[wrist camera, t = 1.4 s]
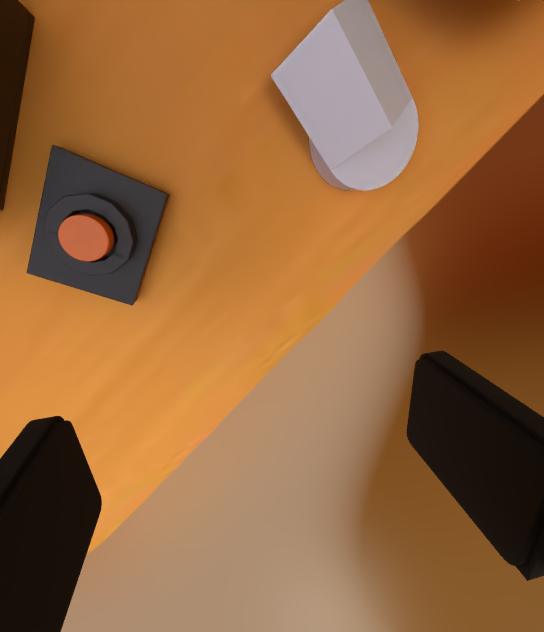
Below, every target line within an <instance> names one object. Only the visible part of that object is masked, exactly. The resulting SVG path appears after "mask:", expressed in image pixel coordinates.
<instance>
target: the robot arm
mask: <svg viewBox="0 0 544 632" xmlns="http://www.w3.org/2000/svg"><path fill="white" fill-rule="evenodd" d="M407 437H408V440H409V442H410V444H411V445H412V446H413V448H414V449H415V450H416V451H417V452H418V454H419V455H420V456H421V457H422V459H423V460H424V461H425V462H426V464H427V465H428V466H429V467H430V468H431V470H432V471H433V472H434V473H435V475H436V476H437V477H438V478H439V480H440V481H441V482H442V483H443V485H444V486H445V487H446V488H447V490H448V491H449V492H450V493H451V495H452V496H453V497H454V498H455V499H456V501H457V502H458V503H459V504H460V506H461V507H462V508H463V509H464V510H465V512H466V513H467V514H468V515H469V517H470V518H471V519H472V520H473V522H474V523H475V524H476V525H477V527H478V528H479V529H480V530H481V532H482V533H483V534H484V535H485V537H486V538H487V539H488V540H489V541H490V543H491V544H492V545H493V546H494V548H495V549H496V550H497V551H498V552H499V554H500V555H501V556H502V557H503V559H504V560H505V561H507V562H508V563H509V564H511V565H513V566H516V567H517V569H518V570H519V571H520V572H521V574H522V575H523V576H524V577H525V578H526V580H527V581H528V580H531V579H534V578H538V577H541V576H544V417H542V416H541V415H539V414H538V413H536V412H535V411H533V410H532V409H530V408H529V407H527V406H526V405H524V404H523V403H521V402H520V401H518V400H517V399H515V398H514V397H512V396H511V395H509V394H508V393H506V392H505V391H503V390H502V389H500V388H499V387H497V386H496V385H494V384H493V383H491V382H490V381H488V380H487V379H485V378H484V377H482V376H481V375H479V374H478V373H476V372H475V371H474V370H472V369H471V368H469V367H468V366H466V365H465V364H463V363H462V362H460V361H459V360H457V359H456V358H454V357H453V356H451V355H450V354H448V353H447V352H444V351H437V352H431V353H425V354H423V355H421V357H420V359H419V360H417V361H416V364H415V370H414V378H413V385H412V393H411V401H410V410H409V418H408V425H407ZM101 505H102V501H101V495H100V493H99V490H98V488H97V485H96V483H95V480H94V478H93V475H92V473H91V470H90V468H89V465H88V463H87V460H86V458H85V455H84V453H83V450H82V448H81V445H80V443H79V440H78V438H77V435H76V433H75V430H74V428H73V425H72V423H71V422H70V421H64V419H63V418H62V417H60V416H55V417H49V418H43V419H37V420H32V421H30V422H29V423H28V424H27V425H26V426H25V428H24V429H23V430H22V432H21V433H20V434H19V435H18V437H17V438H16V439H15V441H14V442H13V443H12V444H11V446H10V447H9V448H8V450H7V451H6V452H5V453H4V455H3V456H2V457H1V459H0V632H61V629H62V626H63V623H64V620H65V617H66V614H67V611H68V608H69V605H70V602H71V599H72V596H73V593H74V589H75V587H76V584H77V581H78V577H79V575H80V572H81V569H82V565H83V563H84V560H85V556H86V554H87V551H88V548H89V545H90V542H91V539H92V536H93V533H94V530H95V527H96V524H97V521H98V518H99V515H100V511H101Z"/></svg>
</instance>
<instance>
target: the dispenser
mask: <svg viewBox="0 0 544 632" xmlns="http://www.w3.org/2000/svg"><path fill="white" fill-rule="evenodd" d="M33 23H34V16H33V15H32V14H31V13H30V12H29V11H28V10H27V9H26V8H25V7H24V6H23V5H22V4H21V3H20V2H19V1H18V0H0V210H3V205H4V199H5V193H6V187H7V181H8V175H9V169H10V163H11V157H12V151H13V144H14V138H15V132H16V126H17V120H18V114H19V108H20V102H21V96H22V90H23V84H24V78H25V72H26V66H27V60H28V54H29V47H30V41H31V35H32V29H33Z"/></svg>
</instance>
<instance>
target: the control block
mask: <svg viewBox="0 0 544 632" xmlns="http://www.w3.org/2000/svg"><path fill="white" fill-rule="evenodd" d="M168 197H169V194H168V193H165V192H163V191H161V190H159V189H156V188H154V187H152V186H149V185H147V184H145V183H142V182H140V181H138V180H135V179H133V178H131V177H128V176H126V175H124V174H121V173H119V172H117V171H115V170H112V169H110V168H108V167H105V166H103V165H101V164H98V163H96V162H94V161H91V160H89V159H87V158H84V157H82V156H80V155H78V154H75V153H73V152H71V151H68V150H66V149H64V148H61V147H58V146H54V145H52V148H51V153H50V158H49V163H48V168H47V174H46V179H45V184H44V189H43V194H42V199H41V204H40V209H39V214H38V219H37V224H36V229H35V234H34V239H33V244H32V249H31V254H30V259H29V264H28V269H27V273H29V274H32V275H35V276H38V277H42V278H45V279H48V280H51V281H55V282H58V283H61V284H64V285H68V286H71V287H74V288H77V289H81V290H84V291H87V292H90V293H94V294H97V295H100V296H103V297H107V298H110V299H113V300H116V301H120V302H123V303H126V304H129V305H133V304H134V303H135V301H136V300H137V296H138V293H139V290H140V287H141V283H142V280H143V277H144V274H145V271H146V267H147V264H148V261H149V258H150V255H151V251H152V248H153V245H154V242H155V239H156V235H157V232H158V229H159V226H160V223H161V219H162V216H163V213H164V210H165V206H166V203H167V200H168ZM85 213H88V214H94V215H97V216H99V217H101V218H102V219H104V220H105V221H106V222H107V223H108V224H109V225H110V227H111V229H112V231H113V233H114V245H113V248H112V249H111V251H110V252H109V253H108V254H106V255H105V256H103V257H101V258H100V259H98V260H95V261H81V260H78V259H75V258H74V257H72V256H70V255H69V254H68V253H67V252H66V251H65V250H64V249H63V247H62V246H61V244H60V241H59V237H58V231H59V227H60V225H61V223H62V222H63V221H64V220H65V219H66V218H68V217H70V216H73V215H79V214H85Z"/></svg>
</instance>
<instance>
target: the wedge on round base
mask: <svg viewBox="0 0 544 632" xmlns="http://www.w3.org/2000/svg"><path fill="white" fill-rule="evenodd" d="M270 76H271V77H272V79H273V80H274V82H275V83H276V85H277V87H278V88H279V90H280V91H281V93H282V95H283V96H284V98H285V99H286V101H287V102H288V104H289V106H290V107H291V109H292V110H293V112H294V113H295V115H296V117H297V118H298V120H299V121H300V123H301V125H302V126H303V128H304V129H305V131H306V132H307V134H308V136H309V137H310V138H309V142H310V153H311V157H312V161H313V163H314V166H315V168H316V169H317V171H318V173H319V174H320V175H321V177H322V178H323V179H324V180H325V181H326V182H327V183H329V184H330V185H332V186H334V187H336V188H339V189H342V190H373V189H377V188H380V187H382V186H384V185H386V184H388V183H389V182H391V181H392V180H394V179H395V178H396V177H397V176H398V175H399V174H400V173H401V172H402V171H403V169H404V168H405V166H406V165H407V163H408V162H409V160H410V158H411V156H412V153H413V151H414V148H415V145H416V141H417V136H418V114H417V109H416V105H415V102H414V100H413V97H412V95H411V93H410V91H409V88H408V86H407V84H406V82H405V80H404V77H403V75H402V73H401V71H400V69H399V67H398V64H397V62H396V60H395V58H394V56H393V54H392V51H391V49H390V47H389V45H388V43H387V40H386V38H385V36H384V34H383V32H382V30H381V27H380V25H379V23H378V21H377V19H376V16H375V14H374V12H373V10H372V8H371V6H370V3H369V1H368V0H344V1H343V2H341V3H340V4H338V5H337V6H335V7H334V8H332V9H331V10H330V11H329V12H328V13H327V15H326V16H325V17H324V18H323V19H322V20H321V21H320V22H319V23H318V24H317V25H316V26H315V28H314V29H313V30H312V31H311V32H310V33H309V34H308V35H307V36H306V37H305V38H304V40H303V41H302V42H301V43H300V44H299V45H298V46H297V47H296V48H295V49H294V50H293V51H292V53H291V54H290V55H289V56H288V57H287V58H286V59H285V60H284V61H283V62H282V63H281V64H280V66H279V67H278V68H277V69H276V70H275V71H274V72H273V73H272V74H271V75H270Z"/></svg>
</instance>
